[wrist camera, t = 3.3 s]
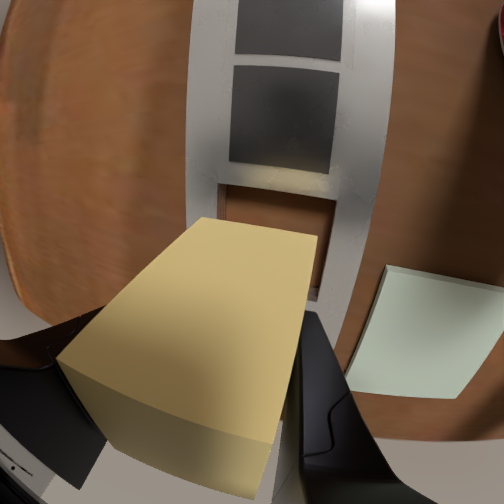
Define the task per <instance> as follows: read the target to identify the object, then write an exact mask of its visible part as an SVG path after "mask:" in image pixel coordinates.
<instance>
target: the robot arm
mask: <svg viewBox="0 0 504 504" xmlns="http://www.w3.org/2000/svg"><path fill="white" fill-rule="evenodd" d="M105 306H106V305H105ZM105 306H103V307H100V308H98V309H95V310H93V311H90V312H88V313H86V314H83V315H81V317H80V316H78V317H76V318H73V319H71V320H69V321H66V322H63V323H61V324H58V325H55V326H53V327H50V328H47V329H44V330H41V331H38V332H35V333H31V334H28V335H25V336H22V337H19V338H16V339H11V340H0V504H47V503H46V502H45V501H44V500H42V499H41V498H40V497H41V496H42V494H43V493H44V491H45V489H46V488H47V486H48V485H49V483H50V482H51V480H52V479H53V477H54V476H55V474H57V475H58V476H59V477H61V478H62V479H64V480H65V481H66V482H68V483H69V484H71V485H72V486H74V487H75V488H76V489H78V490H80V489H81V487H82V486H83V484H84V482H85V480H86V478H87V476H88V474H89V473H90V471H91V469H92V467H93V466H94V464H95V462H96V460H97V458H98V457H99V455H100V453H101V451H102V449H103V448H104V446H105V444H106V442H107V438H106V437H105V436H104V434H103V433H102V432H101V430H100V429H99V427H98V426H97V425H96V423H95V422H94V420H93V419H92V417H91V416H90V414H89V413H88V412H87V410H86V409H85V407H84V405H83V404H82V402H81V401H80V399H79V398H78V396H77V394H76V393H75V391H74V390H73V388H72V386H71V385H70V383H69V381H68V379H67V378H66V376H65V374H64V372H63V371H62V369H61V367H60V365H59V363H58V361H57V360H56V357H57V356H58V355H59V354H60V353H61V352H62V351H63V350H64V349H65V348H66V347H67V346H68V345H69V343H70V342H71V341H72V340H73V339H74V338H75V337H76V336H77V335H78V334H79V333H80V332H81V331H82V330H83V329H84V328H85V327H86V326H87V325H88V324H89V323H90V322H91V321H92V320H93V318H94V317H95V316H96V315H97V314H98V313H99V312H100V311H101V310H102V309H103V308H104V307H105ZM350 392H351V391H350V388H349V386H348V383H347V381H346V379H345V376H344V374H343V372H342V369H341V367H340V365H339V362H338V360H337V358H336V355H335V353H334V351H333V348H332V346H331V344H330V341H329V339H328V337H327V335H326V332H325V330H324V328H323V325H322V323H321V321H320V319H319V316H318V314H317V313H316V312H313V311H308V310H305V311H304V316H303V321H302V326H301V330H300V335H299V340H298V345H297V349H296V354H295V358H294V362H293V367H292V371H291V375H290V380H289V384H288V388H287V392H286V400H285V409H284V417H283V425H282V434H281V442H280V449H279V456H278V464H277V470H276V477H275V484H274V490H273V497H272V503H271V504H437V503H436V502H434V501H432V500H431V499H429V498H427V497H425V496H424V495H422V494H420V493H419V492H417V491H415V490H414V489H412V488H410V487H409V486H407V485H406V484H404V483H403V482H402V481H401V480H400V479H399V478H398V477H397V476H396V475H395V473H394V472H393V471H392V469H391V468H390V466H389V464H388V463H387V461H386V459H385V457H384V456H383V454H382V452H381V450H380V449H379V447H378V445H377V443H376V442H375V440H374V438H373V436H372V435H371V433H370V431H369V429H368V427H367V425H366V424H365V422H364V420H363V418H362V416H361V414H360V411H359V409H358V407H357V405H356V403H355V400H354V398H353V395H352V393H350Z"/></svg>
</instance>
